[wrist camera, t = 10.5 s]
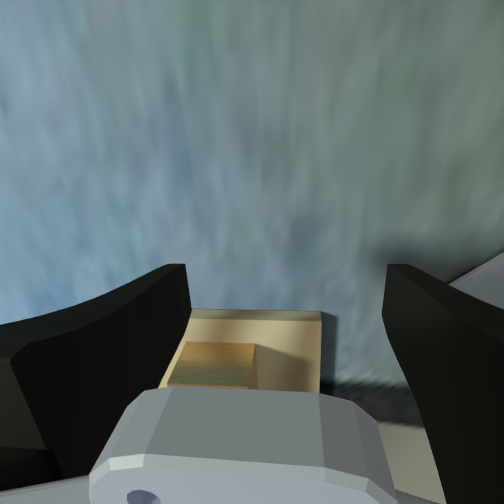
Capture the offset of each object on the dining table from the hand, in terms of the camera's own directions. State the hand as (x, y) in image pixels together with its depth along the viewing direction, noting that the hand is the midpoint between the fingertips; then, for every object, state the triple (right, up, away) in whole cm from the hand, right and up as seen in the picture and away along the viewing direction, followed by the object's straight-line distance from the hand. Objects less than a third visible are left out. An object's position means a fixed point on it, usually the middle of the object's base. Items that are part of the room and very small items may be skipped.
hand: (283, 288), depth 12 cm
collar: (-3, -7, +13) cm, 15 cm away
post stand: (-3, -7, +14) cm, 16 cm away
